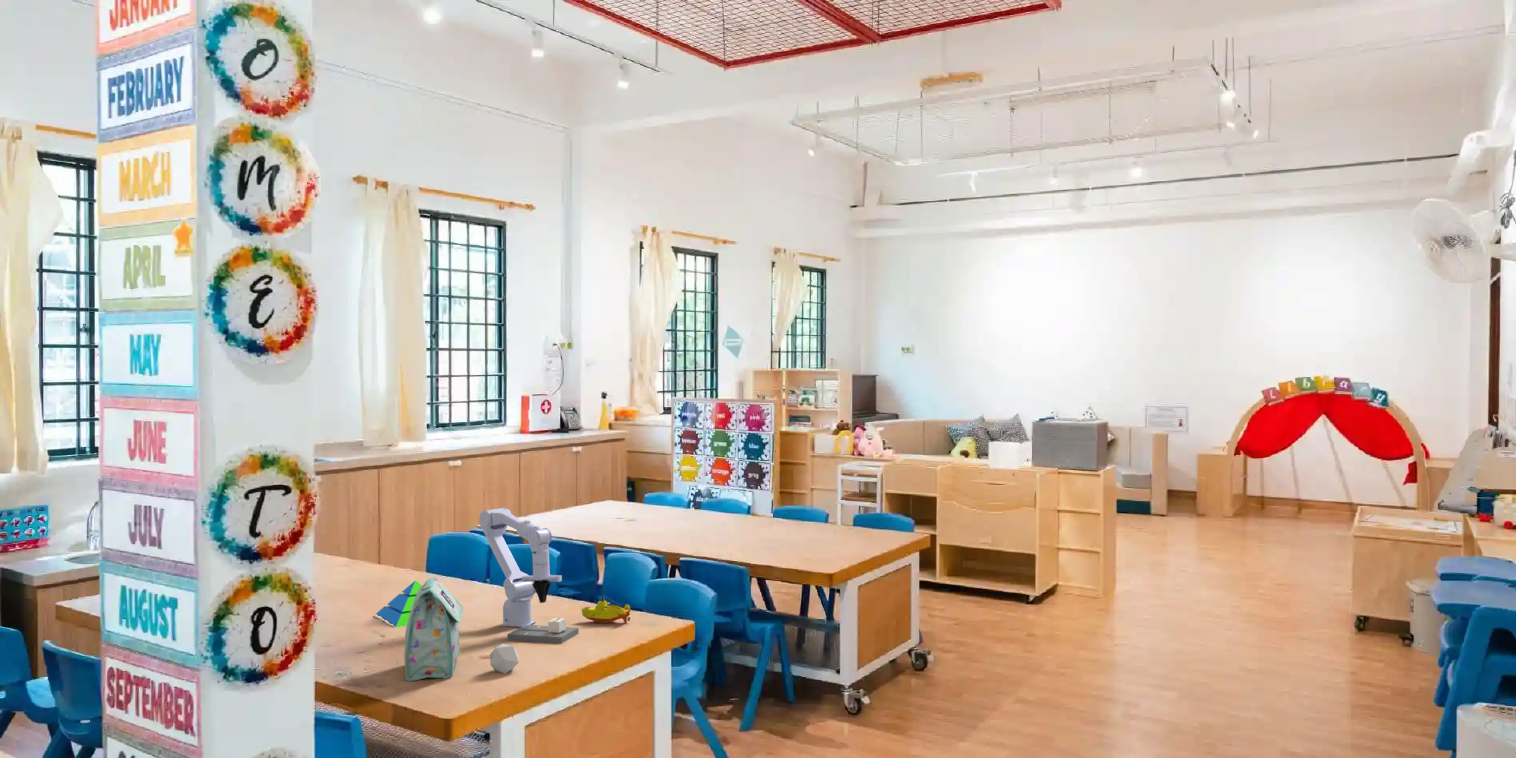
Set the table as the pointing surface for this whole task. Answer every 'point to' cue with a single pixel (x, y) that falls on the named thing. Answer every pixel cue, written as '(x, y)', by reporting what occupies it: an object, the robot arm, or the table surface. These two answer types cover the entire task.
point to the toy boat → (606, 612)
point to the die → (504, 658)
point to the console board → (542, 634)
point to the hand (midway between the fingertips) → (542, 602)
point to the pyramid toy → (400, 606)
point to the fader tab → (557, 625)
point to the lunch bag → (432, 633)
